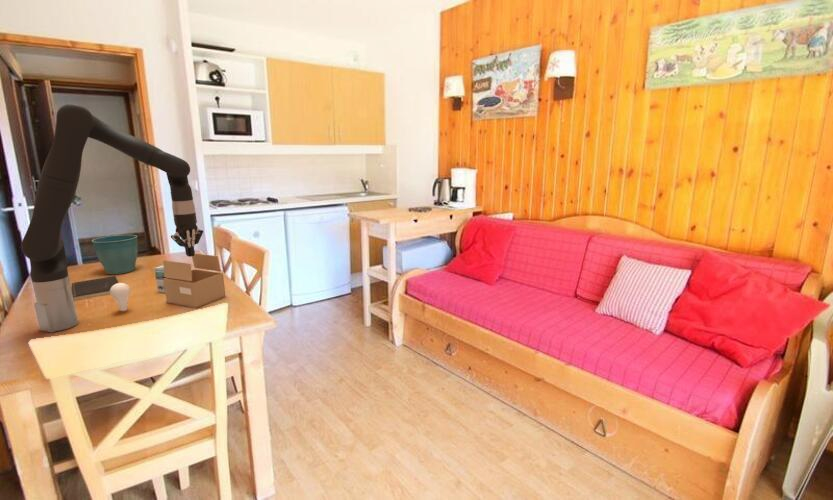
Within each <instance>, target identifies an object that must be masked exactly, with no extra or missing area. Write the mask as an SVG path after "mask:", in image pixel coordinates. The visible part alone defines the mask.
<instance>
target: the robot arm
mask: <svg viewBox="0 0 833 500" xmlns="http://www.w3.org/2000/svg"><path fill="white" fill-rule="evenodd" d="M55 118H56V121H55V130H54V137H53V142H52V145H51V147H50V150H49V152H48V154H47V156H46V159H45V161H44V164H43V166H42V169H41V173H40V176H39V180H38V182H37V188H36V193H35V198H34V204H33V212H32V216H31V220H30V222H29V225H28V227H27V229H26V232H25V234H24V237H23V238H22V240H21V243H20V248H21V252H22V253H23V255H24V256H25V257H26V258H28V259H29V263H30V273H29V276H30V280H31V284H32V287H33V292H34V293H33V294H34V297H35V300H36V302H34V303H33V305H34V309H35V315H36V319H37V322H38V327H39V330H40V331H43V332H46V333H54V332H59V331H64V330H68V329H70V328H73V327H75V326H77V325H78V324H79V318H78V311H77V308H76V304H75V300H74V299H73V294H72V284H71V280H70V277H69V272H68V267H69V266H68V259H67V255H66V249H65V245H64V240H63V238H62V237H61V229H62V226H63V222H64V219H65V217H66V215H67V213H68V211H69V210H70V207H71V205H72V204H73V203H72V202H73V200H74V197H75V196H76V192H77V189H78V185H79V181H80V176H81V170H82V169H81V168H82V160H83V158H82V157H83V152H84V149H85V145H86V144H87V140H88V139H89V138H90V139H93V140H95V141H98V142H101V143H103V144H105V145H107V146H110V147H111V148H113V149H115V150H117V151H119V152H121V153H123V154H124V155H127V156H128V157H130V158H132V159H135V160H136V161H138V162H141V163H143V164H145V165H148V166H150V167H152V168H156V169H158V170H161V171H163V172H164V173H166V178H167V180H168V184H169V188H170V189H169V190H170V199H171V208H172V210H171V211H172V216H173V223H174V225H175V233H174V234H171V235H170V238H171V239H172V240H173V241H174V242H175V244H177V245H178V247H179V246H180V247H183V248H184V250H185V255H186V256H187V257H190V258H192V256H194V254H195V253H196V251H195V245H198V244H199V243H200V240H201V238H202V236H203V233H204V230H203V229H200V228H198V225H197V223H198V220H197V214H196V213H197V212H196V207H195V202H194V196H193V191H192V187H191V186H190V184H189V178H188V176H189V175H190V172H191V167H190V165H189V163H188V162H187V161H186V160H185V159H182V158H180V157H177V156H176V155H174V154H171V153H168V152H166V151H164V150H162V149H161V148H159V147H157V146H155V145H153V144H151V143H149V142H147V141H144V140H142V139H140V138H139V137H136V136H134V135H131V134H129V133H126V132H124V131H122V130H119V129H117V128H115V127H113V126H111V125H109V124H108V123H106V122H104V121H102V120H101V119H99V118H98V117H97V116H95V115H93V114H92V113H91V112H90V110H89V109H88V108H86V107H85V106H83V105H80V104H77V103H68V104H64V105H62V106H61V107H59V108H58V110H57V112H56V117H55Z"/></svg>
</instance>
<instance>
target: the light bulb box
mask: <svg viewBox="0 0 833 500" xmlns="http://www.w3.org/2000/svg"><path fill="white" fill-rule="evenodd" d="M154 273H155V274H154V275H155V281H156V286H157V287H156V288H157V292H158V293H165V288H164V282H163V279H164V278H167V277H164V265H160V266H157V267H154Z"/></svg>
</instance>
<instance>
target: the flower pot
mask: <svg viewBox="0 0 833 500" xmlns="http://www.w3.org/2000/svg"><path fill="white" fill-rule="evenodd" d="M91 243H92V245H93V248H94V251H95V254H96V257H97V259H98V261H99V262H100V264H101V265H102V267H103V268H104V271H105V273H106V274H107V275H119V274H120V275H121V274H127V273H130V272H133V271H135V270H136V264H137V263H136V262H137V258H138V253H139V252H138V235H135V234H119V235H115V234H114V235H109V236H108V235H107V236H103V237H102V236H101V237H98V238H94V239H92V240H91Z"/></svg>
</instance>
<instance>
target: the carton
mask: <svg viewBox="0 0 833 500" xmlns="http://www.w3.org/2000/svg"><path fill="white" fill-rule="evenodd" d="M191 272H192V281H187V280H181V279H175V278H168V277H167V278H164V279H163V282H164V288H165V300H166V303H167V304H171V305H175V306H176V305H177V306H180V307H181V306H182V307H187V308H191V309H199V308H201V307H204V306H206V305H209V304H212V303H213V302H216V301H218V300H221V299H223V298H225V297H227V295H226V287H225V286H226V285H225V279H224V273H222V272H218V271H211V270H205V269H198V268H194V269H191Z"/></svg>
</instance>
